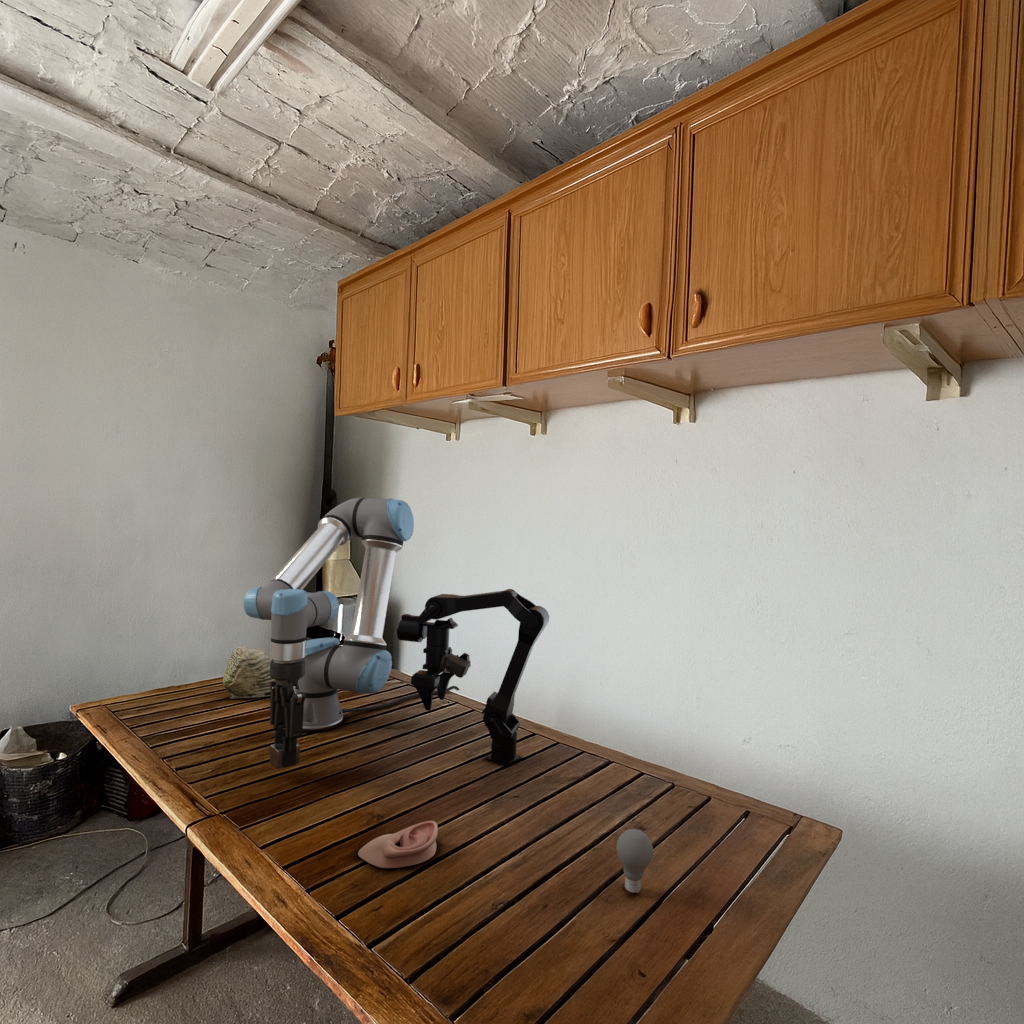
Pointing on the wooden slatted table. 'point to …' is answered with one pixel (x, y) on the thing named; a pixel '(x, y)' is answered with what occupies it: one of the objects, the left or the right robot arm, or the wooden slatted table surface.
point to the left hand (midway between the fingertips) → (284, 762)
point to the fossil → (248, 673)
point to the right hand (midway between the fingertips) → (435, 704)
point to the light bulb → (634, 857)
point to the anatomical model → (402, 846)
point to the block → (280, 755)
